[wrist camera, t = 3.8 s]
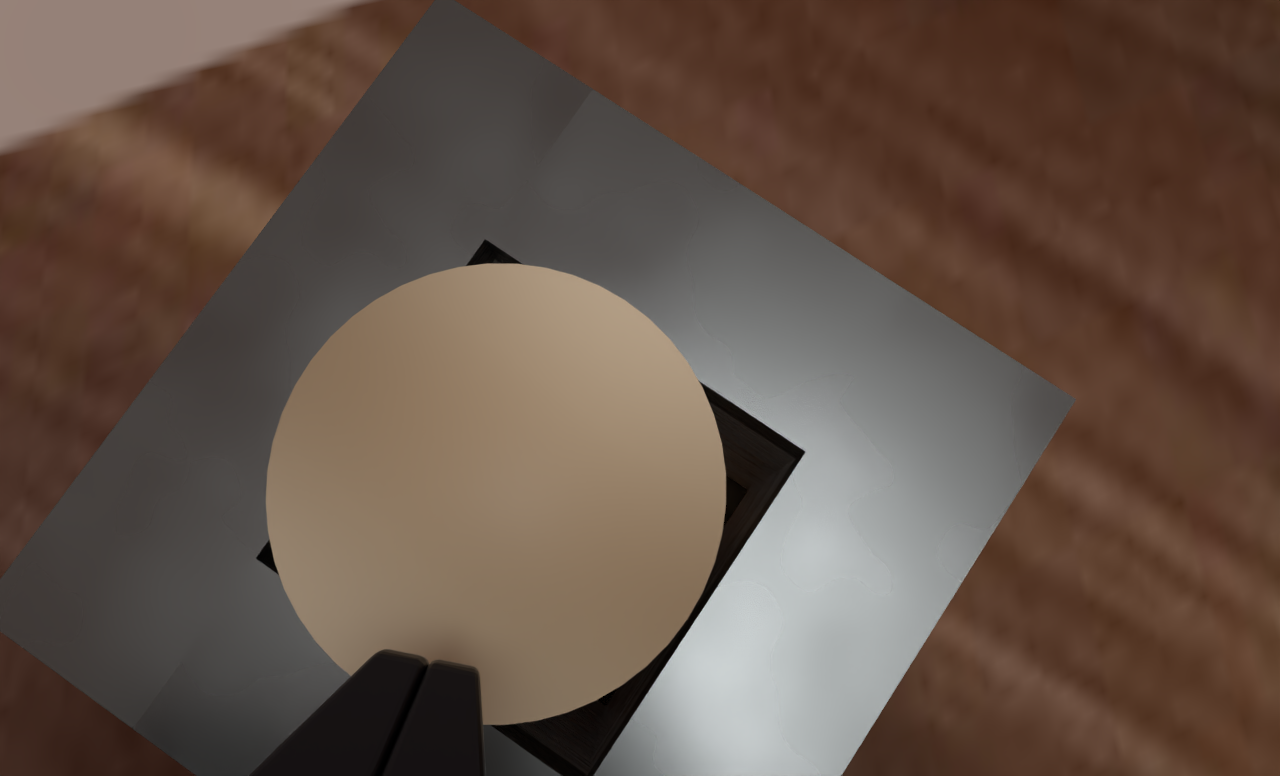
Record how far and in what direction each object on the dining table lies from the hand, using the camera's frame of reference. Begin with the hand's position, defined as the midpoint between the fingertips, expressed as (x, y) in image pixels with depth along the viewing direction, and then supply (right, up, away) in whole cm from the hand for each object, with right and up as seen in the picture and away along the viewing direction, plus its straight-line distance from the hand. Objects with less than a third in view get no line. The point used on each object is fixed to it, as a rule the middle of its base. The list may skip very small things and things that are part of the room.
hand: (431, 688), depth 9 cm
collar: (0, 0, +13) cm, 13 cm away
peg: (0, 0, +9) cm, 9 cm away
